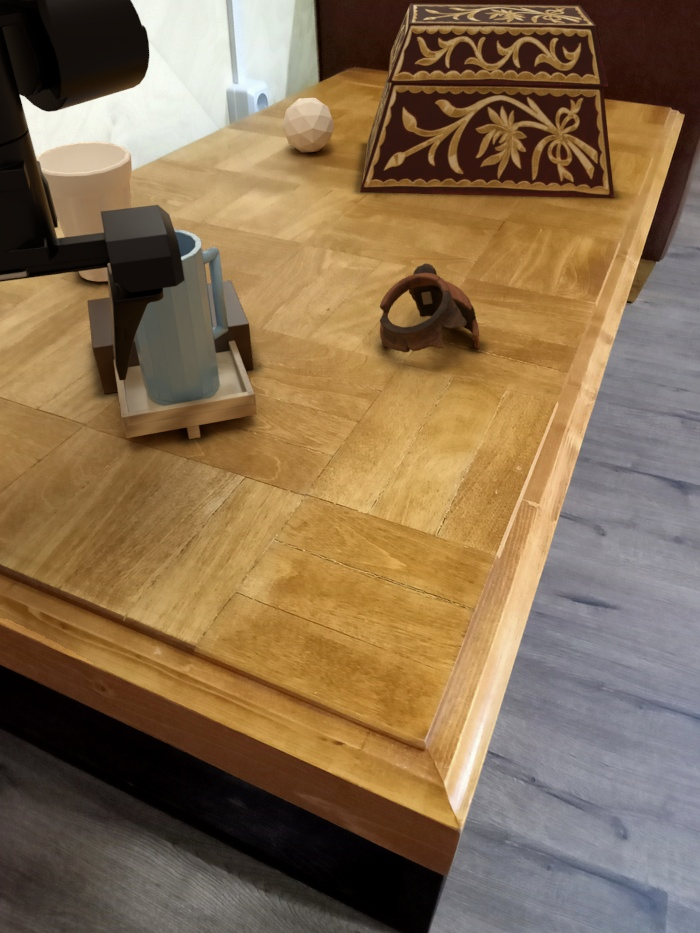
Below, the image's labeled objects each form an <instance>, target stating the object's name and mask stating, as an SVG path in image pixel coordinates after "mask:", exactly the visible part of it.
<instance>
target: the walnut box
mask: <svg viewBox="0 0 700 933" xmlns="http://www.w3.org/2000/svg"><path fill="white" fill-rule="evenodd" d="M207 285H208V293H209V300H210V308H211V315H212V323H213V327H214V326H216V325H217V324H216V316H215V308H214V300H213V293H212V285H211V282H209V283H208V282H207ZM223 286H224V294H225V303H226V311H227V320H228V332H227V333H225V334H224V335H222V336H220V337H218V338H217V339H215V345H216V353H217V361H218V368H219V379H220V386H219V389H218V390H217V392H216V393H215V394H214V395H213V396H212V397H211V398H207V399H201V400H195V401H190V402H184V403H178V404H173V405H167V406H163V405H160V404H157V403H155V402H154V401H152V400H151V399H150V398H149V397H148V395H147V393H146V388H145V387H144V382H143V377H142V373H141V368H140V363H139V358H138V354H137V349H136V344H135V339H134V343H133V347H132V352H131V357H130V361H129V366H128V371H127V376H126V380H121V381H120V380H119V377H118V373H117V369H116V364H115V357H114V350H113V337H112V324H111V311H110V298H109V296H108V297H101V298H95V299H88V300H86V302H87V310H88V311H87V312H88V320H89V321H88V322H89V329H90V338H91V346H92V353H93V356H94V360H95V363H96V368H97V372H98V376H99V380H100V384H101V386H102V387H101V388H102V391H103V395H107V394H108V395H109V394H114V393H117V395H118V396H117V397H118V403H119V408H120V409H119V410H120V416H121V421H122V426H123V430H124V433H125V437H126V438H127V439H129V438H135V437H141V436H146V435H152V434H158V433H162V432H168V431H174V430H179V429H185V428H186V432H187V437H188V439H189V440H192V439H199V438H201V430H200V426H201V425H206V424H212V423H213V424H214V423H218V422H223V421H224V422H225V421H229V420H234V419H235V420H236V419H240V418H246V417H251V416H256V415H257V404H256V394H255V390H254V388H253V386H252V383H251V381H250V378H249V375H248V372H247V371H251V370H254V359H253V350H252V349H253V348H252V340H251V329H250V328H251V327H250V323H249V320H248V317H247V316H246V313H245V310H244V308H243V306H242V303H241V301H240V298H239V295H238V292H237V291H236V289H235V286H234V284H233V282H232V279H228V280H223Z"/></svg>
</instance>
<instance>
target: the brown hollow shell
mask: <svg viewBox="0 0 700 933" xmlns="http://www.w3.org/2000/svg"><path fill="white" fill-rule="evenodd" d="M407 292H408V293H409V295H410V296H411V298H412V300H413V301H414V302H415V305H416V310H417V311H418V313H419V317H421V318H425V317H428V318H427V319H426V320H424V321H421V322H420V323H418V324H415V325H412V326H401V325H400V326H399V325H396V324H395V323H393V322H391V321H390V319H389V317H388V316H389V314H390V310H391V309H392V307H393V306H394V304H395V302H396V301H397V300H398V299H399V298H400V297H401V296H403V295H404V294H405V293H407ZM379 308H380V309H381V310H382V315H381V317H380V319H379V322H380V324H379V336H380V340H381V343H382V345H383V347H385V348H389V349H391V350H394V351H398V352H402V353H408V352H410V351H411V352H417V351H421V350H423V349H426V348H427V349H428V348H432V347H433V348H435V349H436V348H437V349H445V346H444V344H443V336H442V335H443V334H442V332H443V331H442V329H443V327H444V328H446V329H448V330H451V329H458V328H459V329H463V328H464V329H466V330H468V331H469V332H470V333H471V335H472V339H473V345H474V348H475V350H478V349H480V345H481V344H480V342H481V341H480V329H479V323H478V321H477V316H476V311H475V308H474V306H473V305H472V303H471V299H470V298H469V297H468V296H467V294H466V293H465V292H464V291H463V290H462V289H461V288H460V287H458V286H457V285H455V284H453V283H452V282H449V281H446V280H445V279H443V278H442V277H441V276H440V275H438V274H437V270H436V268H435V267H434V265H432V264H430V263H422V264H421V265H418V266H417V267H416V268H415V269H414V271H413V274H411V275H409V276H406V277H404V278H402V279H400V280H399V281H398V282H396V283H395V284H393V286H391V287H390V288H389V289H388V291H387V292H386V293H385V294H384V296H383V298H382V299H381V301H380V304H379Z"/></svg>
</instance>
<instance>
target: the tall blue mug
mask: <svg viewBox="0 0 700 933" xmlns="http://www.w3.org/2000/svg"><path fill="white" fill-rule="evenodd" d="M174 231H175V234H176V237H177V240H178V244H179V249H180V254H181V260H182V267H183V273H184V279H185V281H183V282H182V283H180V284H179V285H177V286H174V287H167V288H163V292H164V297H163V298H162V299H161V300H159V301H156V302H151V303H149V304H148V305H147V307H146V309H145V312H144V314H143V317H142V319H141V322H140V324H139V327H138V329H137V332H136V335H135V338H134V339H135V344H136V349H137V354H138V358H139V363H140V368H141V373H142V377H143V382H144V387H145V388H146V393H147V395H148V397H149V398H150V399H151V400H152V401H154V402H155V403H157V404H160V405H163V406H167V405H173V404H178V403H184V402H190V401H195V400H201V399H207V398H211V397H212V396H213V395H214V394H215V393H216V392H217V390H218V389H219V386H220V379H219V368H218V361H217V353H216V345H215V339H217V338H218V337H220V336H222V335H224V334H225V333H227V332H228V320H227V311H226V303H225V294H224V286H223V281H224V279H223V271H222V270H223V269H222V263H221V262H222V261H221V253H220V249H219V247H216V246H211V247H208V248H206V249H204V247H203V242H202V241H203V240H202V239H201V238H200V237H199V236H198V235H197V234H196V233H193V232H191V231H188V230H183V229H178V228H174ZM207 264H208V268H209V269H208V270H209V277H210V283H211V285H212V293H213V300H214V308H215V316H216V324H217V325H216V326H214V327H213V323H212V315H211V308H210V300H209V293H208V285H207V283H208V279H207V270H206V265H207Z"/></svg>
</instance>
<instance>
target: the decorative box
mask: <svg viewBox="0 0 700 933" xmlns="http://www.w3.org/2000/svg"><path fill="white" fill-rule="evenodd" d="M388 61H389V62H388V71H387V72H388V73H387V76H386V79H385V82H384V86H383V90H382V92H381V96H380V99H379V103H378V106H377V110H376V113H375V115H374V119H373V123H372V126H371V129H370V132H369V136H368V140H367V142H366V146H365V153H364V159H363V160H364V161H363V166H362V173H361V174H362V175H361V183H360V190H359V192H360V193H395V194H396V193H397V194H403V193H404V194H435V195H436V194H440V195H441V194H443V195H448V194H449V195H481V196H483V195H484V196H496V195H497V196H520V197H521V196H523V197H524V196H525V197H527V196H529V197H569V198H611V199H614V198H615V193H614V184H613V183H614V181H613V174H612V161H611V152H610V144H609V143H610V142H609V131H608V122H607V111H606V101H605V100H606V99H605V88H604V87H609V82H608V78H607V73H606V67H605V62H604V58H603V53H602V47H601V42H600V37H599V32H598V26H597V24H596V23H595V22H594V21H593V19H591V17H590V16H589V14H588V13H586V11H585V10H584V9H583V8H582V6H581V5H578V4H577V5H576V4H575V5H574V4H503V3H500V4H497V3H496V4H495V3H493V4H492V3H491V4H489V3H416V2H415V3H413V2H412V3H409V5H408V8H407V11H406V13H405V15H404V18H403V20H402V23H401V25H400V28H399V30H398V32H397V35H396V38H395V40H394V42H393V45H392V48H391V51H390V53H389V60H388Z"/></svg>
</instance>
